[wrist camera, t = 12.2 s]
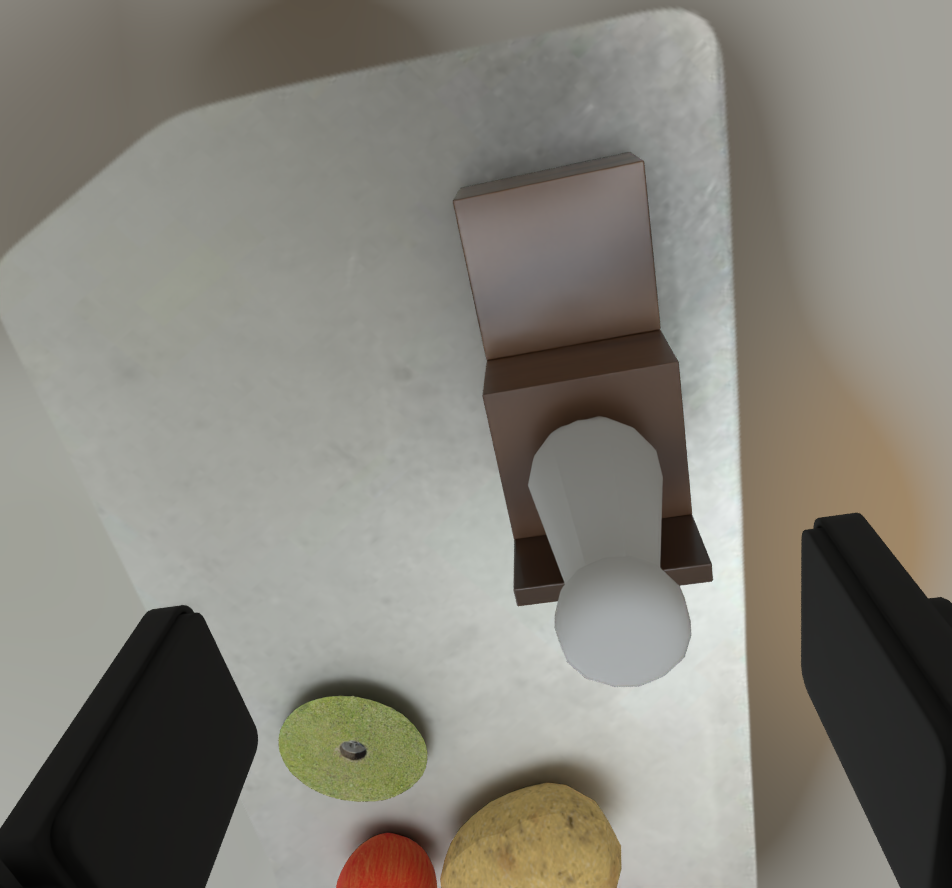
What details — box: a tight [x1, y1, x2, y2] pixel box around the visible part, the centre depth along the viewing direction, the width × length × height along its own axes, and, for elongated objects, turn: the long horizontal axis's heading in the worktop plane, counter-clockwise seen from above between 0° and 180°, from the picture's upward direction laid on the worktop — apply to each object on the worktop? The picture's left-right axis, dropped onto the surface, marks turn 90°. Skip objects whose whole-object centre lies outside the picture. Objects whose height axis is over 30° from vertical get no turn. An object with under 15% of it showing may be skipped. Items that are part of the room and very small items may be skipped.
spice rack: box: [453, 152, 713, 606], centre depth 35 cm, size 17×9×13 cm, turn 12°
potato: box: [440, 783, 621, 888], centre depth 54 cm, size 10×14×10 cm
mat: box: [278, 696, 427, 802], centre depth 55 cm, size 11×11×2 cm
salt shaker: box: [528, 416, 691, 687], centre depth 28 cm, size 6×6×13 cm
